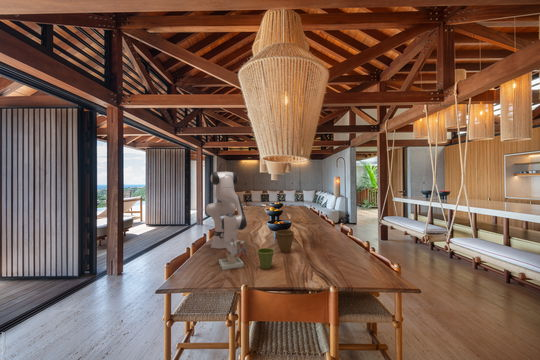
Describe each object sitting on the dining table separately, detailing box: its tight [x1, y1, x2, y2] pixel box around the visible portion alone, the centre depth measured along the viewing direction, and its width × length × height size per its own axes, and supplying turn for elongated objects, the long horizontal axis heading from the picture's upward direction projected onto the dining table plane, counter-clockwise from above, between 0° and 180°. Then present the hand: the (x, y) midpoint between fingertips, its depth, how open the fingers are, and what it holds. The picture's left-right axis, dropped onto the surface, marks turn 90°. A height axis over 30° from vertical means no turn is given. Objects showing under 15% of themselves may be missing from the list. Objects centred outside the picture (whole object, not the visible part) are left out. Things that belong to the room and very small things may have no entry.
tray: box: [218, 257, 245, 271], centre depth 165 cm, size 14×14×3 cm
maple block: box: [227, 252, 235, 262], centre depth 165 cm, size 5×5×5 cm
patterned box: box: [225, 239, 247, 258], centre depth 185 cm, size 21×6×12 cm, turn 162°
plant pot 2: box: [275, 229, 294, 253], centre depth 195 cm, size 15×15×16 cm
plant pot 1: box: [256, 247, 275, 270], centre depth 161 cm, size 12×12×11 cm
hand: (230, 257), depth 165 cm, fingers closed on maple block, 5 cm apart
